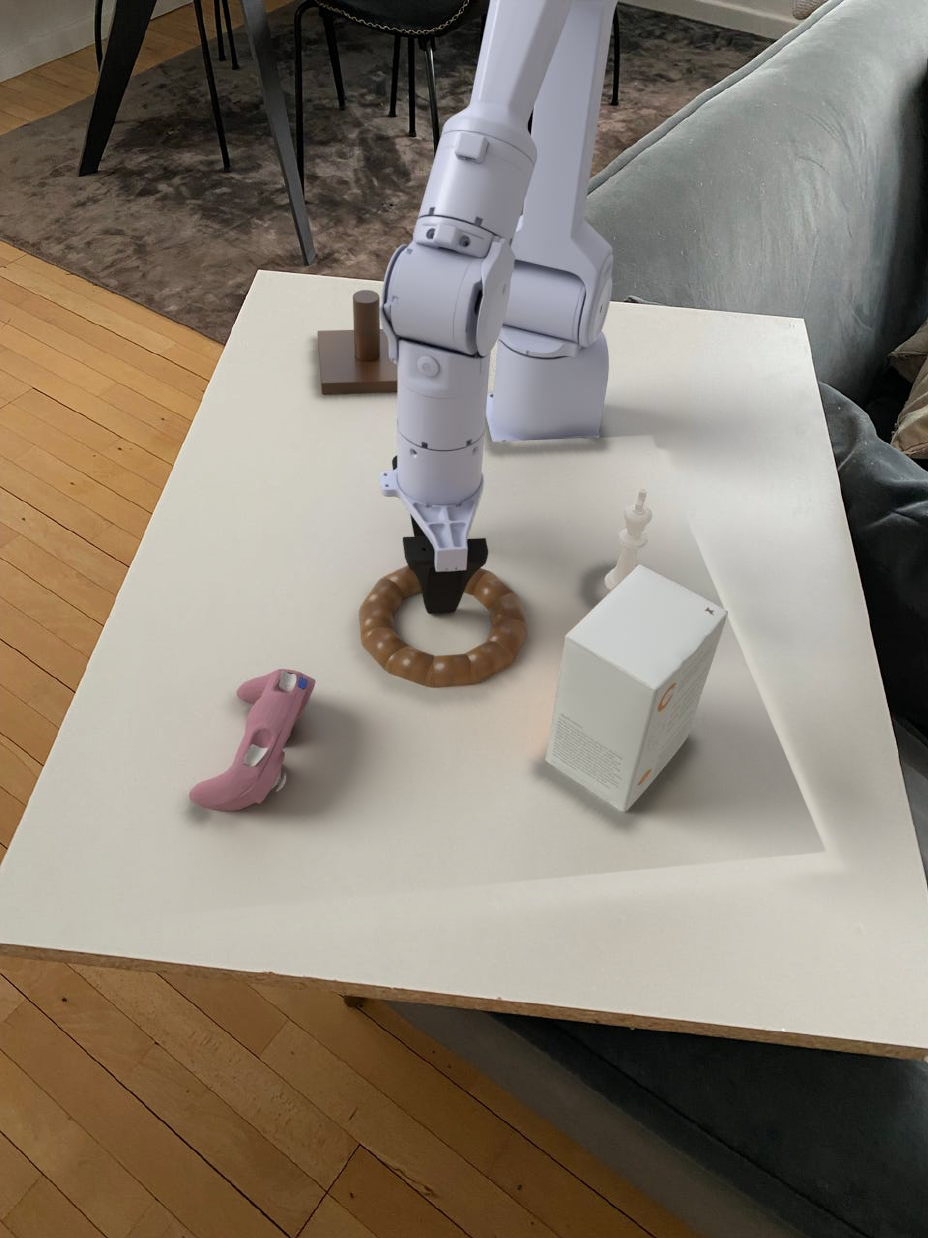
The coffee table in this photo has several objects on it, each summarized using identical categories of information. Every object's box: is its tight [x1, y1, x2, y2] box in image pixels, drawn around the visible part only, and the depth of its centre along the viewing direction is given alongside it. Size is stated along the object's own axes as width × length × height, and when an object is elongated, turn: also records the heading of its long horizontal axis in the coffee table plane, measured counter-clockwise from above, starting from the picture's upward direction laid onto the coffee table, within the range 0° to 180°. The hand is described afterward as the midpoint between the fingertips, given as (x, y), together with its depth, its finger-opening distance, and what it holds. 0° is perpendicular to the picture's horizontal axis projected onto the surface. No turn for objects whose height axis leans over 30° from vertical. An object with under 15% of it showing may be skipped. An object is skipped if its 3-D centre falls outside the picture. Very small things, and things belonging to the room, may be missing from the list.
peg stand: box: [317, 289, 398, 395], centre depth 96 cm, size 9×9×7 cm
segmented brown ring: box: [358, 564, 528, 688], centre depth 75 cm, size 12×12×2 cm
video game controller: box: [188, 668, 316, 812], centre depth 65 cm, size 10×5×7 cm, turn 168°
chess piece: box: [604, 487, 653, 592], centre depth 76 cm, size 5×5×10 cm
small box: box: [544, 563, 729, 813], centre depth 64 cm, size 8×6×13 cm
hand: (435, 574), depth 78 cm, fingers open, 7 cm apart
